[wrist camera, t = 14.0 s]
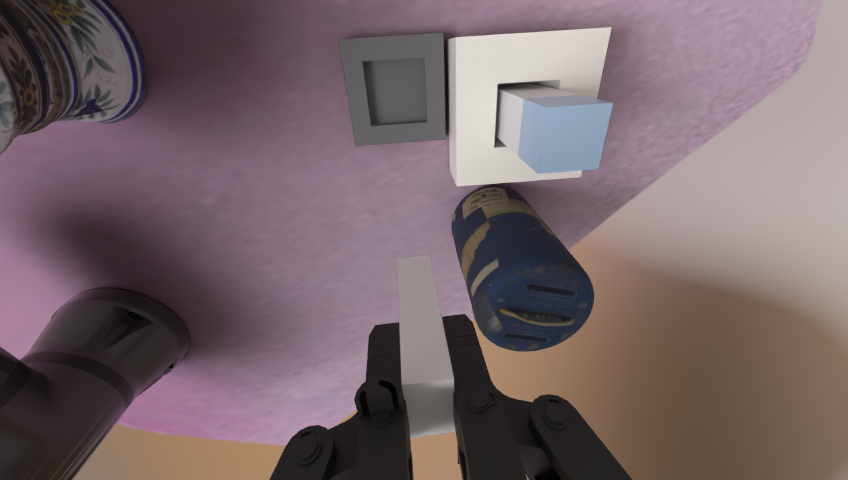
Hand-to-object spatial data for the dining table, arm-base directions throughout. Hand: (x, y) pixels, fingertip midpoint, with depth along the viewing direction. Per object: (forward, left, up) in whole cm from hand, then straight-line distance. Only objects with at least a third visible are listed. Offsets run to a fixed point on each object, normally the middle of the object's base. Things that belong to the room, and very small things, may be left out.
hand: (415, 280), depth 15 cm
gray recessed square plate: (-1, +6, -22) cm, 23 cm away
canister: (+9, -9, -23) cm, 26 cm away
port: (+10, +4, -22) cm, 25 cm away
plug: (+10, +4, -21) cm, 24 cm away
